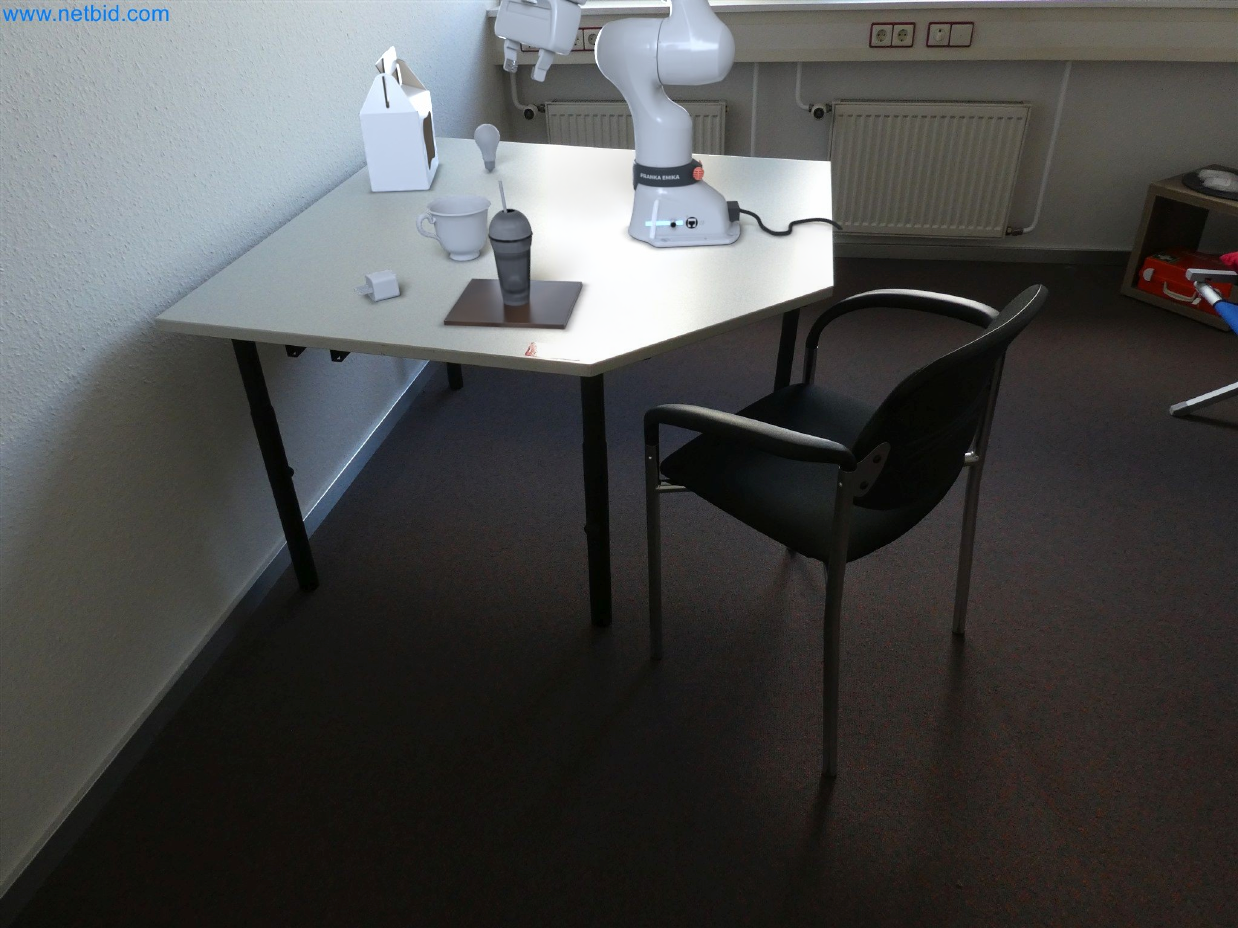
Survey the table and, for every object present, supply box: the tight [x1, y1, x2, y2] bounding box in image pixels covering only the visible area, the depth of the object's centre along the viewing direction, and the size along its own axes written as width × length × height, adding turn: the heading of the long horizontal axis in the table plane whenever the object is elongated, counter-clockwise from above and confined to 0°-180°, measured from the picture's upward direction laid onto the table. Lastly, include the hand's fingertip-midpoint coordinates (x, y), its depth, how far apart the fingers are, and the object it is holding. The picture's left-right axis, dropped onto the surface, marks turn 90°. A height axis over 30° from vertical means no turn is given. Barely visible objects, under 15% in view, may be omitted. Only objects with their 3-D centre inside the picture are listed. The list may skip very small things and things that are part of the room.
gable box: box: [358, 46, 440, 193], centre depth 210 cm, size 22×13×28 cm, turn 4°
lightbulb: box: [474, 123, 501, 172], centre depth 219 cm, size 6×6×11 cm
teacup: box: [415, 194, 492, 262], centre depth 170 cm, size 12×15×10 cm
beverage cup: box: [487, 180, 534, 306], centre depth 148 cm, size 7×7×20 cm
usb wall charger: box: [353, 268, 400, 303], centre depth 156 cm, size 4×7×4 cm, turn 123°
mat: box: [443, 278, 583, 330], centre depth 154 cm, size 20×18×1 cm
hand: (522, 76), depth 145 cm, fingers open, 8 cm apart
